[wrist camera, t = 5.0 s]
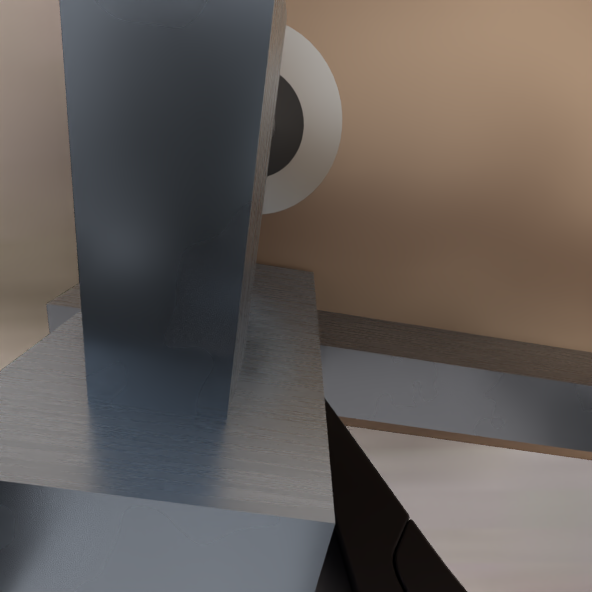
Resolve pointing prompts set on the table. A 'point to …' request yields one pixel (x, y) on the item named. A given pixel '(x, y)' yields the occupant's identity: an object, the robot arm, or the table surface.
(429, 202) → the hole plate
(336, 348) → the beam
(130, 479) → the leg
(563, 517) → the table surface
